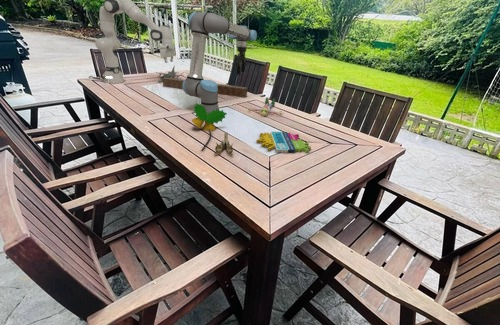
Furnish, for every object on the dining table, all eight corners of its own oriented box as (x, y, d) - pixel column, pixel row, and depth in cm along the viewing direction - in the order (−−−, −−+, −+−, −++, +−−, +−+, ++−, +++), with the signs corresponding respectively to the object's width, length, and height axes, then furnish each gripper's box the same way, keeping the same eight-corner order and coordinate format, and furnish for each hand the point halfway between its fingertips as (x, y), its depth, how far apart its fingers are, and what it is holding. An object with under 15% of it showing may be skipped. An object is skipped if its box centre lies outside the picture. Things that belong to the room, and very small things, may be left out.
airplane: (150, 75, 286) (149, 65, 281) (179, 74, 299) (178, 64, 294) (157, 84, 258) (155, 73, 253) (188, 82, 271) (187, 72, 266)
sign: (313, 150, 142) (258, 149, 139) (312, 153, 143) (258, 152, 140) (301, 132, 164) (254, 130, 161) (301, 134, 165) (254, 133, 162)
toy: (287, 99, 210) (283, 109, 184) (286, 108, 213) (282, 119, 187) (254, 95, 215) (245, 104, 189) (253, 104, 218) (244, 114, 192)
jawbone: (234, 135, 144) (233, 125, 135) (233, 160, 138) (232, 151, 129) (217, 135, 144) (216, 125, 135) (216, 160, 138) (214, 150, 129)
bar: (246, 96, 237) (247, 87, 234) (245, 97, 233) (245, 88, 229) (166, 85, 253) (165, 77, 249) (163, 86, 248) (162, 78, 244)
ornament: (218, 133, 171) (224, 110, 169) (221, 134, 163) (227, 111, 161) (186, 125, 162) (192, 101, 160) (189, 126, 155) (195, 101, 153)
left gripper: (170, 44, 241) (171, 60, 248) (158, 46, 224) (159, 63, 230) (176, 45, 240) (177, 61, 247) (164, 47, 223) (166, 64, 229)
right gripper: (241, 45, 228) (240, 70, 238) (233, 47, 206) (232, 75, 217) (250, 45, 226) (248, 71, 237) (242, 48, 205) (240, 76, 215)
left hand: (169, 62), depth 238 cm, fingers open, 8 cm apart
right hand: (240, 73), depth 227 cm, fingers open, 13 cm apart
